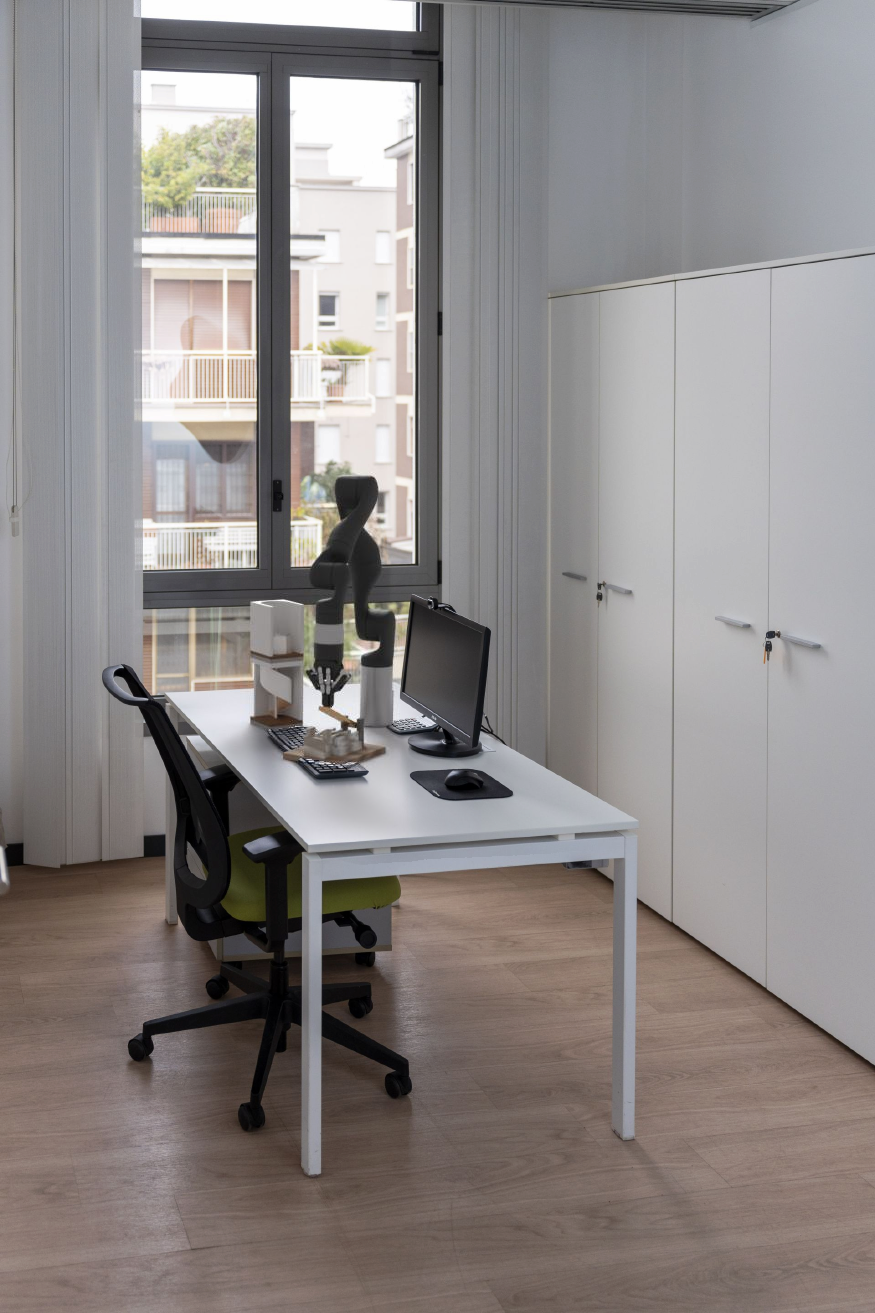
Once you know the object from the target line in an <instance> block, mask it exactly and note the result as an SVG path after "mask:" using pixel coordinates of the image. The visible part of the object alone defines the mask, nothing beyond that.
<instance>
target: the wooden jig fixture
mask: <svg viewBox="0 0 875 1313" xmlns="http://www.w3.org/2000/svg"><path fill="white" fill-rule="evenodd" d="M343 716H345V717H347V718H349V715H348V714H347V715H346V714H345V715H344V714H343ZM356 722H357V728H356V731H352V730H351V729H349V727H347V726H346V725H345V724H343V723H341V722H340V728H338V729H337V728H336V727H331V728H330V727H329V728H326V729H324V730H321V731H318V732H316V726H308V727H306V728H305V735H304V736H303V746H299V747H296V748H294V749H291V750H287V751H284V752H283V753H282V759H284V760H288V761H289V760H290V761H293V762H294V761H295V762H299V761H298V760H299V759H300V758H309V759H313V760H319V761H324V762H331V763H335V764H344V763H347V762H359V763H361V762H363V761H367V760H369V759H371V758H374V757H378V756H379V755H382V754H386V751H387V747H386V746H384V745H377V744H372V743H367V742H366V743H365V742H364V740H365V737H364V736H365V726H364V718H360V717H358V718H356Z"/></svg>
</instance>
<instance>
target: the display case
mask: <svg viewBox="0 0 875 1313" xmlns="http://www.w3.org/2000/svg"><path fill="white" fill-rule="evenodd" d="M249 605H250V606H249V607H250V609H249V612H250V615H249V617H250V621H249V623H250V626H249V627H250V629H249V631H250V639H249V640H250V641H249V642H250V644H249V646H250V648H249V650H250V651H249V652H250V653H249V654H250V656H249V657H250V658H249V660H250V662H249V663H252V664H253V715H251V716H249V720H250V722H249V723H250V724H251V725H254V726H256V727H259V728H260V729H263V730H266V731H268V730H269V729H279V728H289V727H295V726H303V727H304V657H305V655H304V653H305V652H304V648H305V646H304V645H305V644H304V642H305V640H304V639H305V638H304V637H305V635H304V634H305V629H304V628H305V621H304V620H305V604H303V603H298V602H295V601H291V600H287V599H274V600H273V599H270V600H258V601H257V600H256V601H250V604H249Z"/></svg>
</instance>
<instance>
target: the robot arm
mask: <svg viewBox="0 0 875 1313" xmlns="http://www.w3.org/2000/svg"><path fill="white" fill-rule="evenodd" d="M334 498H335V502H336V506H337V507H336V508H337V512H338V514H339V519H340V521H339V522H338V523H337V524H336V525H335V526H334V527H333V529H331V532H330V534H329V535H328V539H327V541H326V542H327V543H326V545H325V547H324V549H323V550H322V551H321V553H320V554H319V555H318V556H317V557H316V559H315V560H314V562H313V563H312V564H311V566H310V569H309V572H308V580H309V581H308V582H309V584H310V586H312V588H313V589H315V590H319V591H320V590H321V591H322V590H323V591H324V590H325V591H334V594H333V596H332V597H329V598H323V599H319V600H317V601H316V604H315V624H314V625H315V626H314V630H313V631H314V632H313V633H314V634H313V638H314V640H313V658H314V662H313V666H312V667H310V668H309V669H307V670H305V673H306V675H307V677H308V679H309V681H310V683H311V684H312V686H313V687H314V690H316V691H319V692H320V693H321V706H322V707H329V708H331V709H333V707H334V704H335V693H338V692H341V691H342V690H343V689H344V687H345V685H347V683H348V682H349V680H351V677H352V674H351V673H349V672H347V671H346V670H345V668H344V667H345V666H344V664H343V660H344V656H345V654H344V652H345V651H344V650H345V648H344V647H345V643H344V642H345V631H344V630H345V629H344V608H345V602H346V598H347V594H348V591H349V587H350V584H351V589H352V590H351V591H352V598H353V612H354V613H353V614H354V626H355V631H356V636H357V637H358V638H359V640H361V641H367V642H377V643H379V647H378V648H377V649H375V650H373V651H369V652H366V653H363V654H362V655H361V657H360V692H359V694H360V696H359V698H360V699H359V702H360V703H359V718H364V727H371V728H380V727H381V728H383V727H389V726H391V725H392V724H393V722H394V699H395V698H394V696H395V694H394V692H395V691H394V688H393V687H394V686H393V685H394V684H393V680H394V672H393V671H394V657H395V656H394V655H395V642H396V640H395V639H396V628H397V624H396V623H397V621H396V615H395V613H394V612H393V610H389V609H382V608H381V609H378V608H370V606H369V597H370V594H372V590H373V589H374V587H375V586H376V584H377V583H378V580H379V578H380V577H381V575H382V569H383V566H382V559H381V558H382V557H381V551H380V548H379V545H378V544H377V542H376V541H375V539H374V538H373V536H372V535H370V533H369V532H368V531H367V530H366V529H365V527H364V526H365V525H366V523H367V522H368V520H369V518H370V517H371V515H372V513H373V511H374V509H375V507H376V505H377V502H378V498H379V484H378V481H377V479H376V477H374V476H372V475H371V474H370V475H369V474H342V475H339V476H337V478H336V479H335V483H334ZM338 678H339V679H338ZM390 724H391V725H390ZM388 725H389V726H388Z"/></svg>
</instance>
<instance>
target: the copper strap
mask: <svg viewBox="0 0 875 1313" xmlns="http://www.w3.org/2000/svg"><path fill="white" fill-rule="evenodd" d="M317 710H318V711H320V712H322V713H323V714H325V715H327V716H328V717H331V718H332V719H334V720H336V721H338V722H340V724H341V723H343V724H345V725H346V726H347V727H348V728H351V729H357V721H355V720H352V719H350V718H349V717H348V718H347V717H345V716H344V714H341V713H340V712H338V711H336V710H335V709H333V708H329V707H323V705H319V706H318V709H317Z"/></svg>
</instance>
